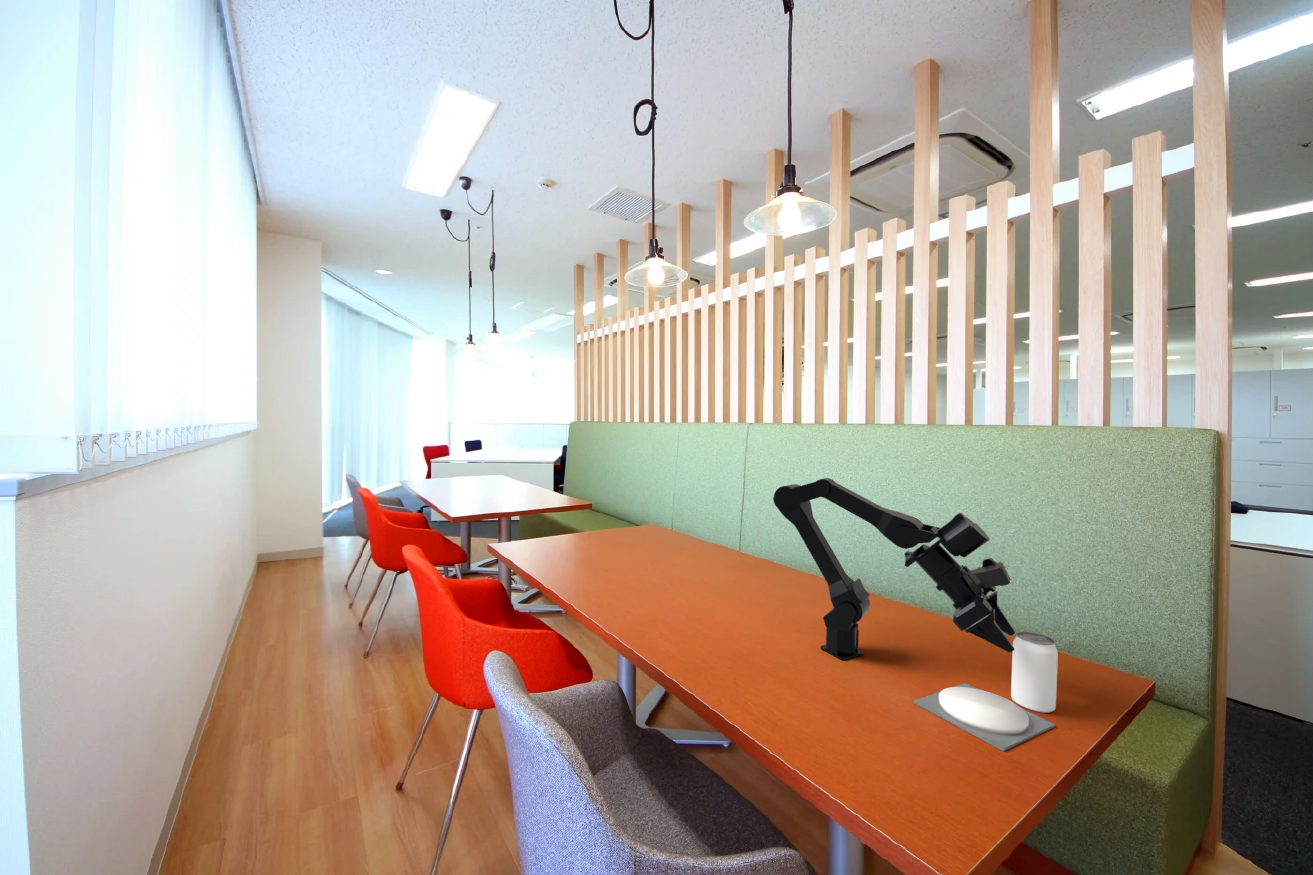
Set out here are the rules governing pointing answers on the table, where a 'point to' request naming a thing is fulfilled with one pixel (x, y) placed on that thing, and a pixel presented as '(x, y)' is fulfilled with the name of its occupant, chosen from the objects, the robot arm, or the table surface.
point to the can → (1034, 672)
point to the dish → (985, 715)
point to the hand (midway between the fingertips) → (1012, 642)
